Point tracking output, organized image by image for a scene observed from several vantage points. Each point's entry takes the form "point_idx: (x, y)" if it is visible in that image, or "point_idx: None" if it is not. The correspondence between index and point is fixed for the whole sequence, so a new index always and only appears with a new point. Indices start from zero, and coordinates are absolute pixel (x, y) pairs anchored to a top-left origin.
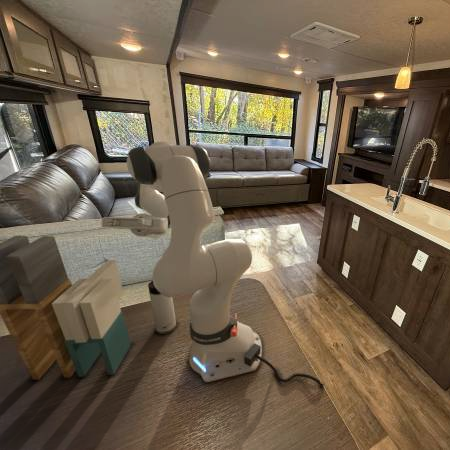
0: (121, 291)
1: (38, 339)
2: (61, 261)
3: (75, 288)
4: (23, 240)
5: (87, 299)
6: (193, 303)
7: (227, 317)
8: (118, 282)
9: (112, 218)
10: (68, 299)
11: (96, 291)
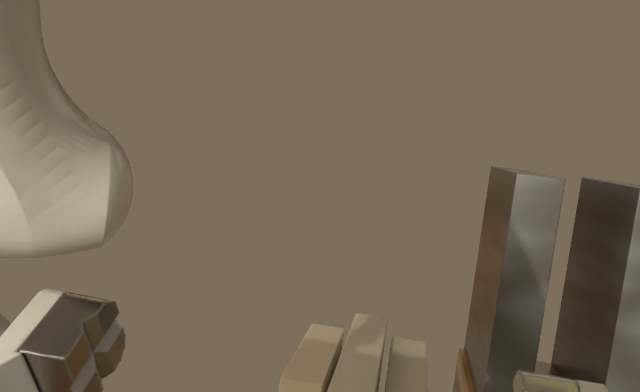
0: None
1: None
2: (495, 309)
3: (400, 368)
4: (628, 199)
5: (327, 330)
6: (6, 323)
7: None
8: None
9: (519, 377)
10: (374, 320)
11: (315, 346)
